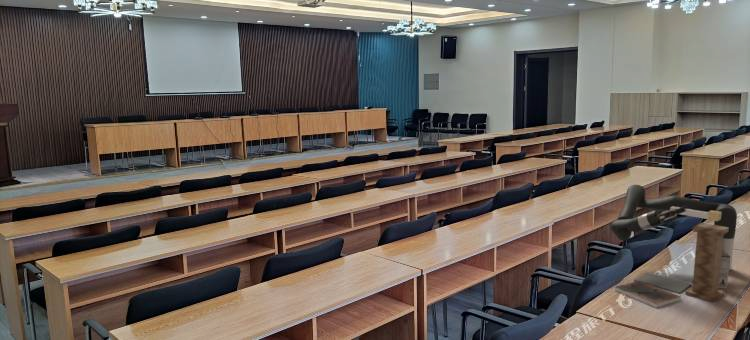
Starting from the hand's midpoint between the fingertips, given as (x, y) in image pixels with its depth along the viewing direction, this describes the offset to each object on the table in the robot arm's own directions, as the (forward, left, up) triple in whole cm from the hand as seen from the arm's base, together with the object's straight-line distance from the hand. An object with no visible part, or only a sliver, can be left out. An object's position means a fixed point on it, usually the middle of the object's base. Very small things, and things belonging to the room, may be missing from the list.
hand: (685, 208), depth 248 cm
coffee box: (-4, +19, -39) cm, 43 cm away
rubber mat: (-5, -5, -39) cm, 39 cm away
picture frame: (+9, -18, -40) cm, 44 cm away
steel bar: (+3, +3, -3) cm, 5 cm away
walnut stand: (+8, +8, -39) cm, 40 cm away
